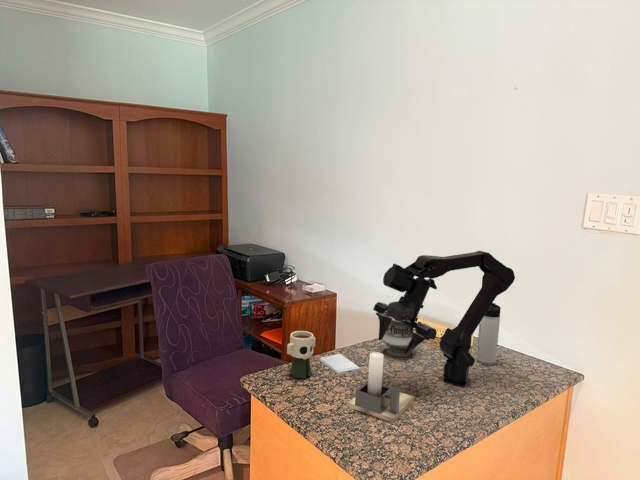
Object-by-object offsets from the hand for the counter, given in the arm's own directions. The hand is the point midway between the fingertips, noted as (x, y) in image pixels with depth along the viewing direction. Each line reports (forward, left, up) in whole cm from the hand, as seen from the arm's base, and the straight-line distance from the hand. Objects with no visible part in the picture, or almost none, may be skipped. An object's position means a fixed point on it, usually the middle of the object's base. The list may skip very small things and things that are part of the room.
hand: (392, 347), depth 128 cm
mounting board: (-2, +10, -12) cm, 16 cm away
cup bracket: (-3, +14, -11) cm, 18 cm away
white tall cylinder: (-1, +14, -10) cm, 18 cm away
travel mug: (-18, -38, -13) cm, 44 cm away
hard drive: (+20, -5, -13) cm, 24 cm away
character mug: (+26, +9, -13) cm, 30 cm away
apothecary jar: (+9, -26, -13) cm, 30 cm away
